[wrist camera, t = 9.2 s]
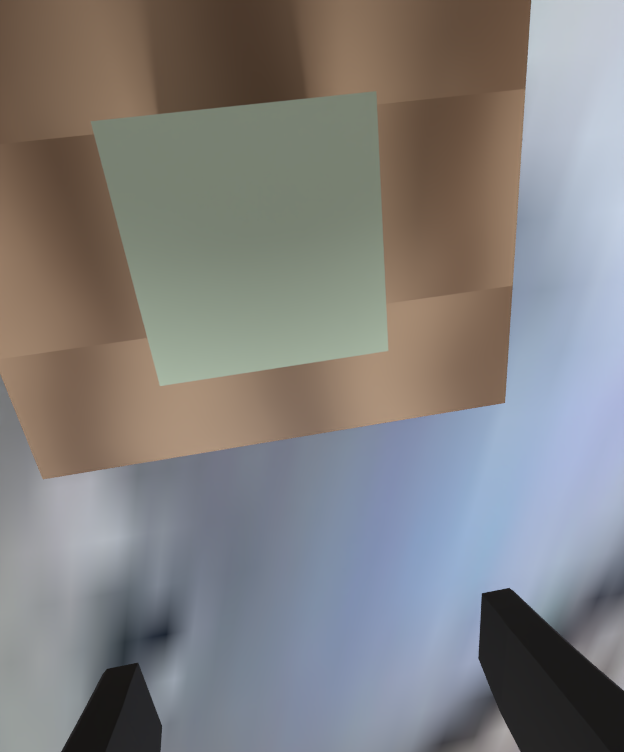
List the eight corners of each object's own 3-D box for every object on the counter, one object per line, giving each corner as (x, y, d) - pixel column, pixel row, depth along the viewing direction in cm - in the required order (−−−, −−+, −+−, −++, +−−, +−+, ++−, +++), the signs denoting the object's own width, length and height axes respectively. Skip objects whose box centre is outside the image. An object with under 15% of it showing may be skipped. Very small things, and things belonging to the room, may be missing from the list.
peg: (200, 280, 16) (160, 386, 8) (173, 152, 15) (90, 121, 6) (314, 264, 17) (388, 351, 8) (301, 137, 15) (376, 91, 7)
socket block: (72, 433, 18) (42, 479, 16) (-89, -16, 13) (-178, -69, 10) (468, 371, 20) (504, 402, 17) (480, -59, 14) (538, -116, 11)
